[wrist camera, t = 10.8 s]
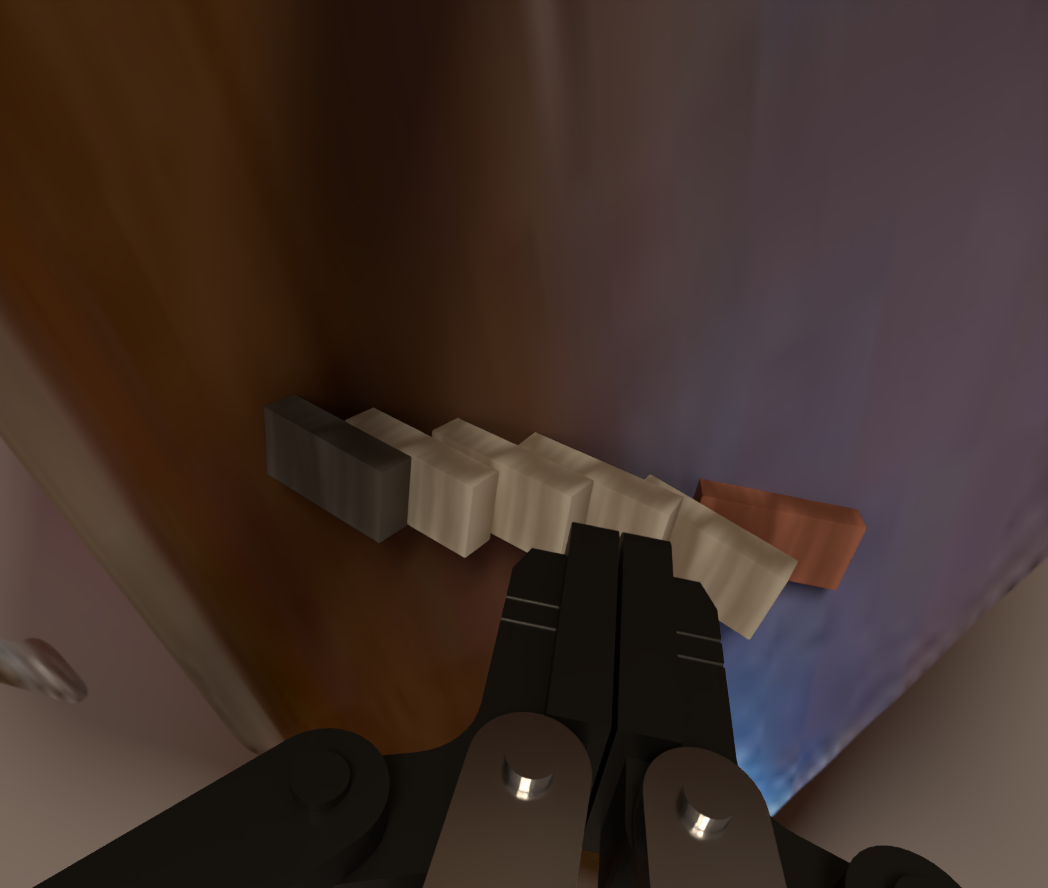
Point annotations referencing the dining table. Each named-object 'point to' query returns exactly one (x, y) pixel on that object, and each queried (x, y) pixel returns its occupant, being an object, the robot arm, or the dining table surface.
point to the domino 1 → (338, 466)
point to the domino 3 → (524, 489)
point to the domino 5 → (727, 563)
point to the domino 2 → (439, 484)
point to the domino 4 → (615, 492)
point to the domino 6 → (792, 528)
